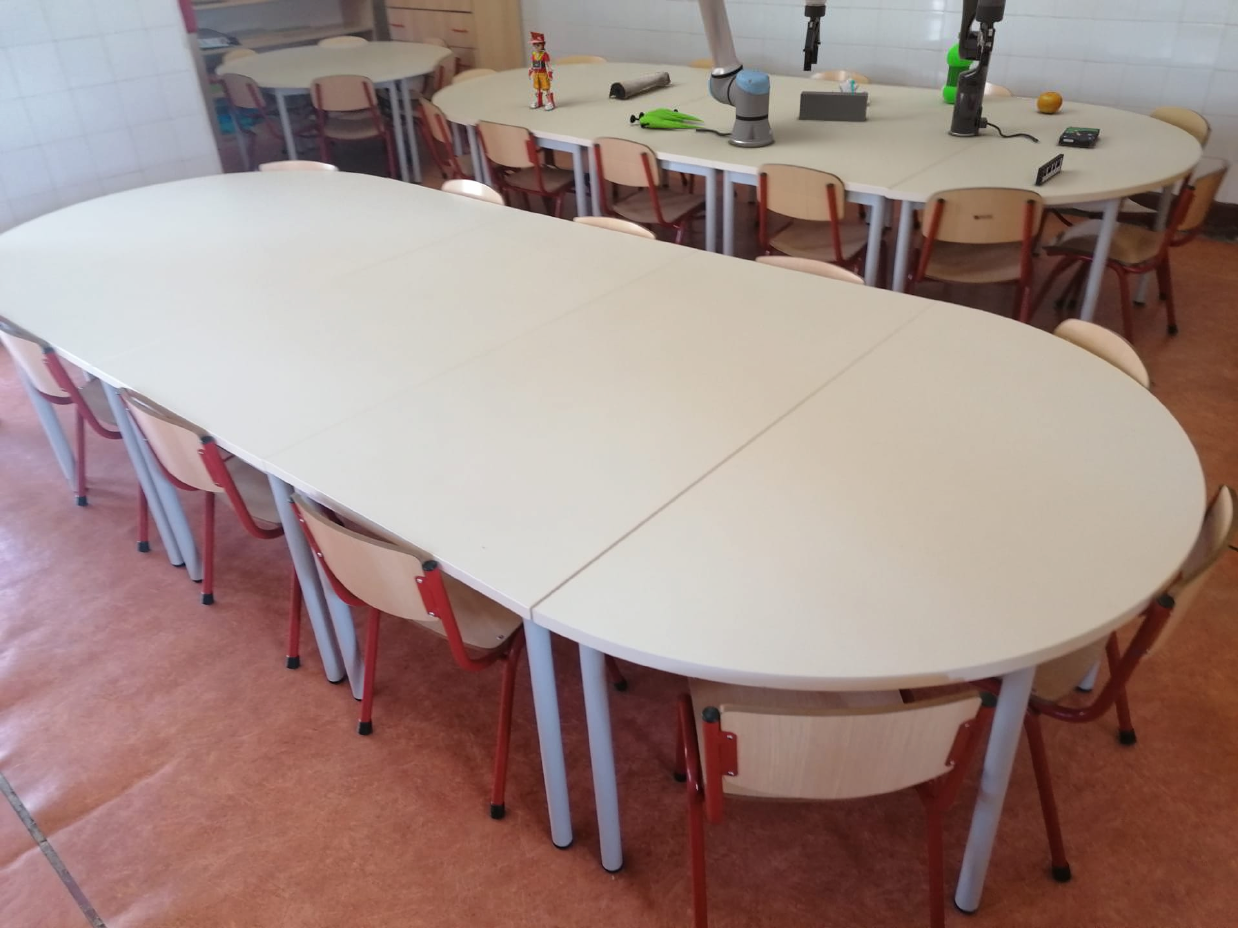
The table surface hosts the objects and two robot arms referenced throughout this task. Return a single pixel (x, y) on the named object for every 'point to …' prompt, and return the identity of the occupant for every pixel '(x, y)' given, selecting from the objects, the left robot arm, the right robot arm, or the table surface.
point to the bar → (833, 106)
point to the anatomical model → (850, 87)
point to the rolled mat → (638, 84)
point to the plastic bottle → (954, 73)
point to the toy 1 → (541, 71)
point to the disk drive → (1079, 136)
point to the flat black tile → (1049, 169)
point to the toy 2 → (664, 119)
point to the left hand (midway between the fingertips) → (810, 67)
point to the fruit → (1049, 102)
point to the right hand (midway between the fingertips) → (981, 63)
